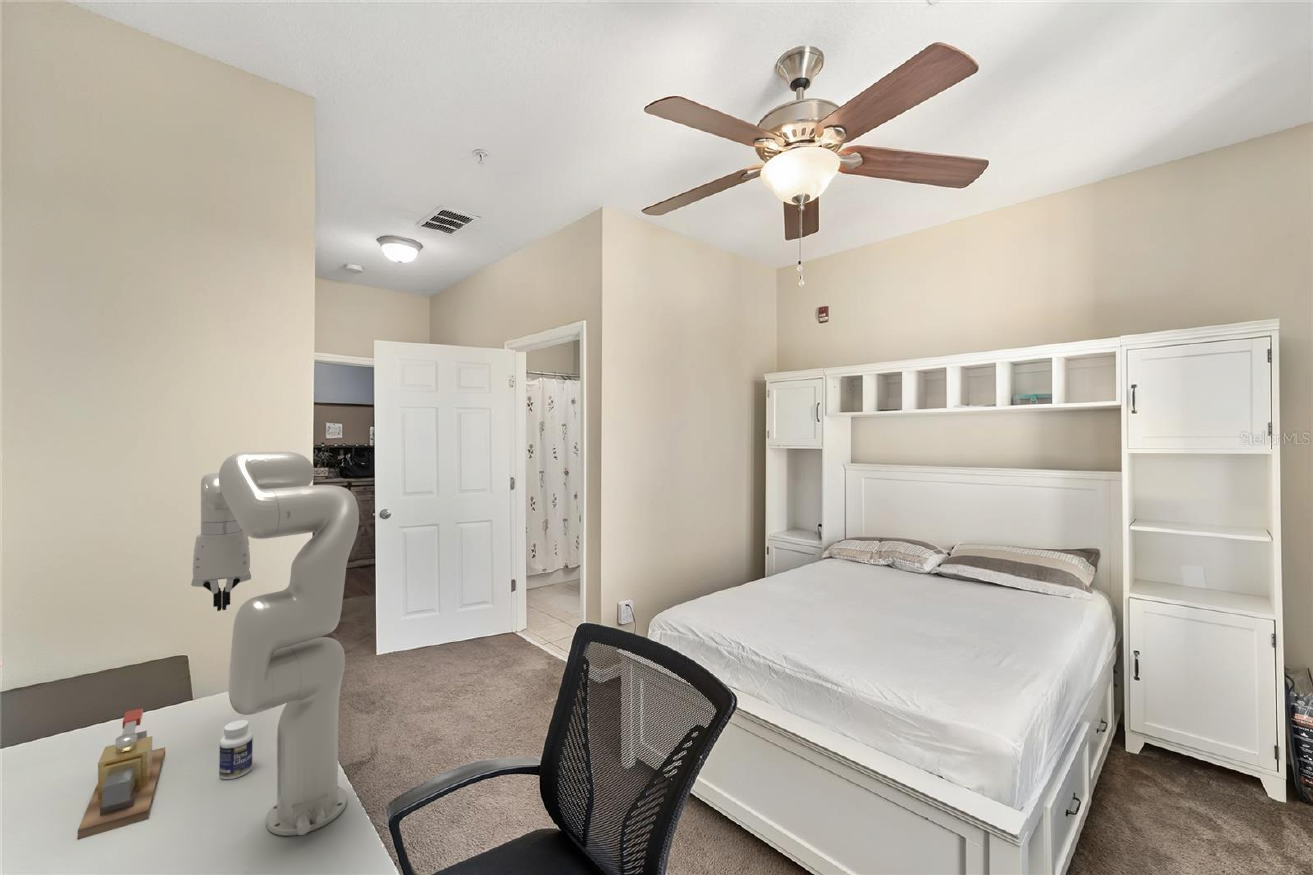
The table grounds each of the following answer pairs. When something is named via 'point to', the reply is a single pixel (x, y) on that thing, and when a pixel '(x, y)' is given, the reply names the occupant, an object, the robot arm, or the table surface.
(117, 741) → the lever
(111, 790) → the valve
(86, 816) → the mount board
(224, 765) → the pill bottle
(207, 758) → the table surface
